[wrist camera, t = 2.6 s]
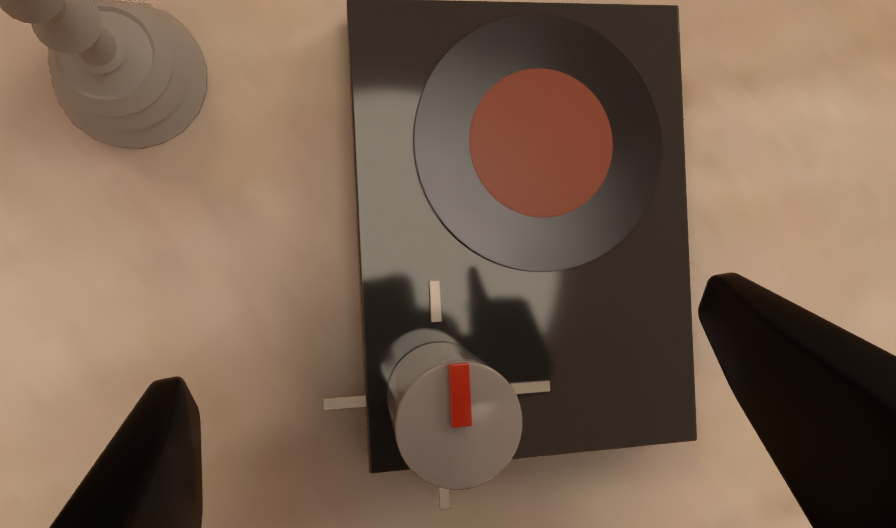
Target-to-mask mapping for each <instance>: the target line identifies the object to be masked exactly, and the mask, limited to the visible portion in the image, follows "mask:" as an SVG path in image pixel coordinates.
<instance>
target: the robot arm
mask: <svg viewBox="0 0 896 528" xmlns="http://www.w3.org/2000/svg"><path fill="white" fill-rule="evenodd" d="M698 315H699V319H700V322H701V324H702V327H703V329H704V331H705V333H706V335H707V338H708V340H709V342H710V344H711V346H712V349H713V351H714V353H715V355H716V357H717V360H718V362H719V364H720V366H721V368H722V370H723V373H724V375H725V377H726V379H727V381H728V383H729V385H730V387H731V389H732V391H733V393H734V395H735V397H736V399H737V401H738V402H739V404H740V406H741V408H742V409H743V411H744V413H745V414H746V416H747V418H748V419H749V421H750V423H751V424H752V426H753V428H754V429H755V431H756V433H757V435H758V436H759V438H760V440H761V441H762V443H763V445H764V446H765V448H766V450H767V451H768V453H769V455H770V456H771V458H772V460H773V461H774V463H775V465H776V467H777V468H778V470H779V472H780V473H781V475H782V477H783V478H784V480H785V482H786V483H787V485H788V487H789V488H790V490H791V492H792V493H793V495H794V497H795V499H796V500H797V502H798V504H799V505H800V507H801V509H802V510H803V512H804V514H805V515H806V517H807V519H808V520H809V522H810V524H811V525H812V527H813V528H896V356H894V355H893V354H891V353H889V352H887V351H885V350H883V349H881V348H879V347H877V346H875V345H873V344H871V343H870V342H868V341H866V340H864V339H862V338H860V337H858V336H856V335H854V334H852V333H850V332H848V331H846V330H845V329H843V328H841V327H839V326H837V325H835V324H833V323H831V322H829V321H827V320H825V319H823V318H822V317H820V316H818V315H816V314H814V313H812V312H810V311H808V310H806V309H804V308H802V307H800V306H798V305H797V304H795V303H793V302H791V301H789V300H787V299H785V298H783V297H781V296H779V295H777V294H775V293H773V292H772V291H770V290H768V289H766V288H764V287H762V286H760V285H758V284H756V283H754V282H752V281H750V280H749V279H747V278H745V277H743V276H741V275H739V274H737V273H724V274H719V275H714V276H712V277H711V278H710V279H709V280H708V282H707V285H706V287H705V290H704V293H703V296H702V299H701V302H700V305H699V308H698ZM202 512H203V496H202V459H201V422H200V414H199V409H198V407H197V404H196V402H195V400H194V398H193V397H192V395H191V393H190V391H189V389H188V387H187V385H186V383H185V381H184V380H183V379H182V378H181V377H177V376H176V377H171V378H165V379H160V380H156V381H154V382H153V383H151V384H150V386H149V387H148V388H147V390H146V391H145V392H144V394H143V395H142V397H141V398H140V400H139V401H138V402H137V404H136V405H135V407H134V408H133V410H132V411H131V412H130V414H129V415H128V417H127V418H126V419H125V421H124V422H123V424H122V425H121V427H120V428H119V429H118V431H117V432H116V434H115V435H114V437H113V438H112V439H111V441H110V442H109V444H108V445H107V446H106V448H105V449H104V451H103V452H102V454H101V455H100V456H99V458H98V459H97V461H96V462H95V464H94V465H93V466H92V468H91V469H90V471H89V472H88V473H87V475H86V476H85V478H84V479H83V481H82V482H81V483H80V485H79V486H78V488H77V489H76V490H75V492H74V493H73V495H72V496H71V498H70V499H69V500H68V502H67V503H66V505H65V506H64V508H63V509H62V510H61V512H60V513H59V515H58V516H57V517H56V519H55V520H54V522H53V523H52V525H51V526H50V527H49V528H201V527H202Z"/></svg>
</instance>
